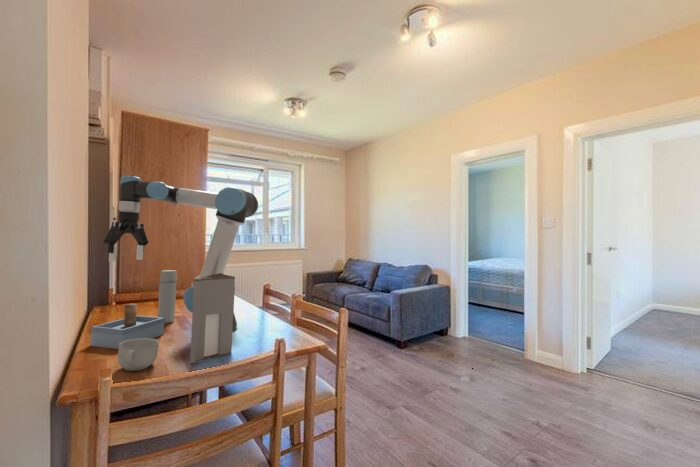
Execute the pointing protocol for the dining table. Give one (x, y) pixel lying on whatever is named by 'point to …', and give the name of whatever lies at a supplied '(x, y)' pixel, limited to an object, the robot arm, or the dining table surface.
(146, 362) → the teacup
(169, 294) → the water bottle
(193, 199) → the robot arm
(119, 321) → the box
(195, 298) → the cabinet
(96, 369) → the dining table surface
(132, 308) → the peg
